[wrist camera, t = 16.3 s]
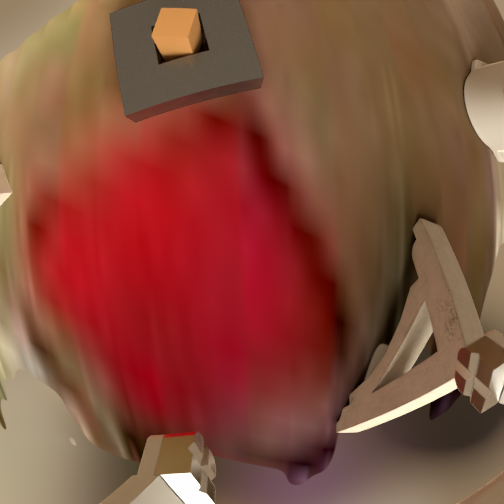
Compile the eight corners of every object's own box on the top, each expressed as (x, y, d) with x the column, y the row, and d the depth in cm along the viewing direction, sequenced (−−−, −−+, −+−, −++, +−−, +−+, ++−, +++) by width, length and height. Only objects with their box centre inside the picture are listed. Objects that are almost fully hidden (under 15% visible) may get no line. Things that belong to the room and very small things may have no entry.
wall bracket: (332, 325, 59) (420, 217, 37) (351, 328, 59) (441, 226, 38) (336, 432, 44) (471, 367, 22) (357, 432, 44) (492, 367, 22)
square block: (202, 39, 31) (197, 8, 24) (195, 64, 32) (188, 37, 24) (173, 37, 31) (161, 7, 23) (165, 62, 32) (151, 36, 24)
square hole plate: (230, -6, 30) (231, -21, 26) (260, 87, 33) (263, 77, 29) (119, 26, 30) (109, 13, 26) (135, 122, 33) (125, 115, 29)
